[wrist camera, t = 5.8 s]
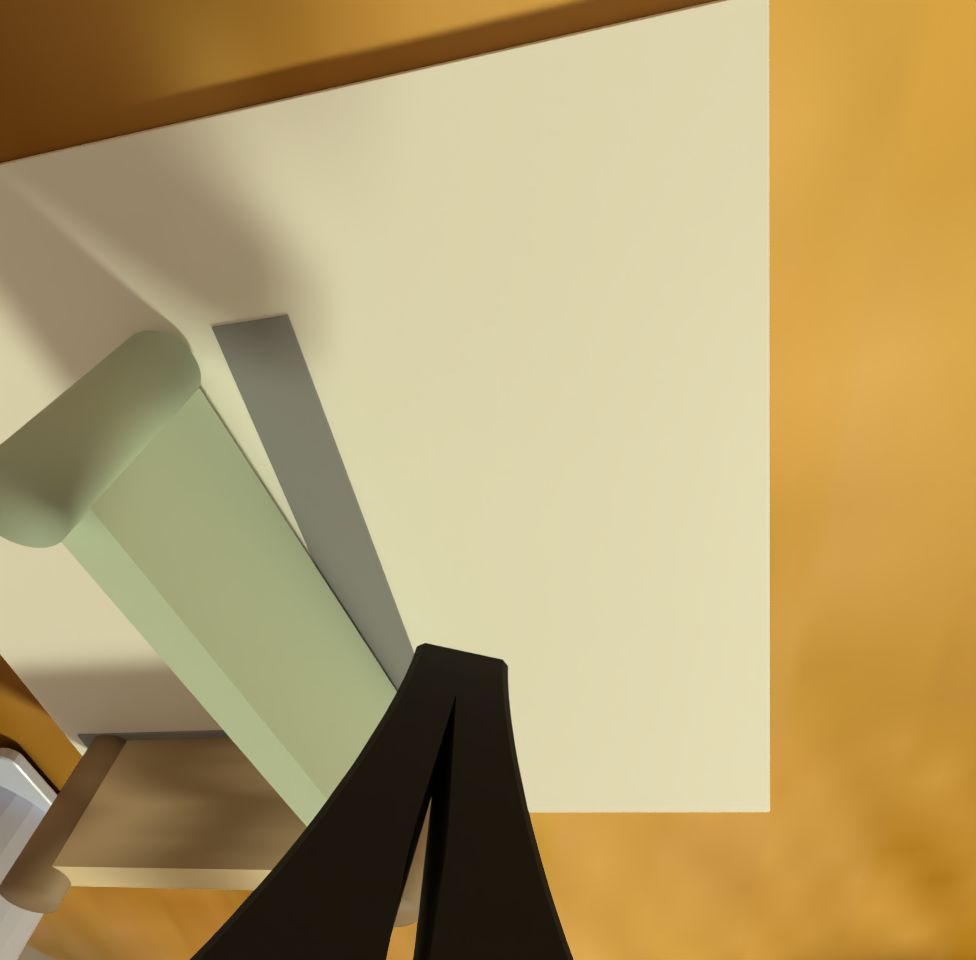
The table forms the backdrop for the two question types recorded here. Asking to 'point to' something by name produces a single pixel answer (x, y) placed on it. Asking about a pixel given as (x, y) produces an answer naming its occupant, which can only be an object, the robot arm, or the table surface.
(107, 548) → the pale green bar
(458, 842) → the robot arm
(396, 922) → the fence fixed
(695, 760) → the card
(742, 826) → the table surface
